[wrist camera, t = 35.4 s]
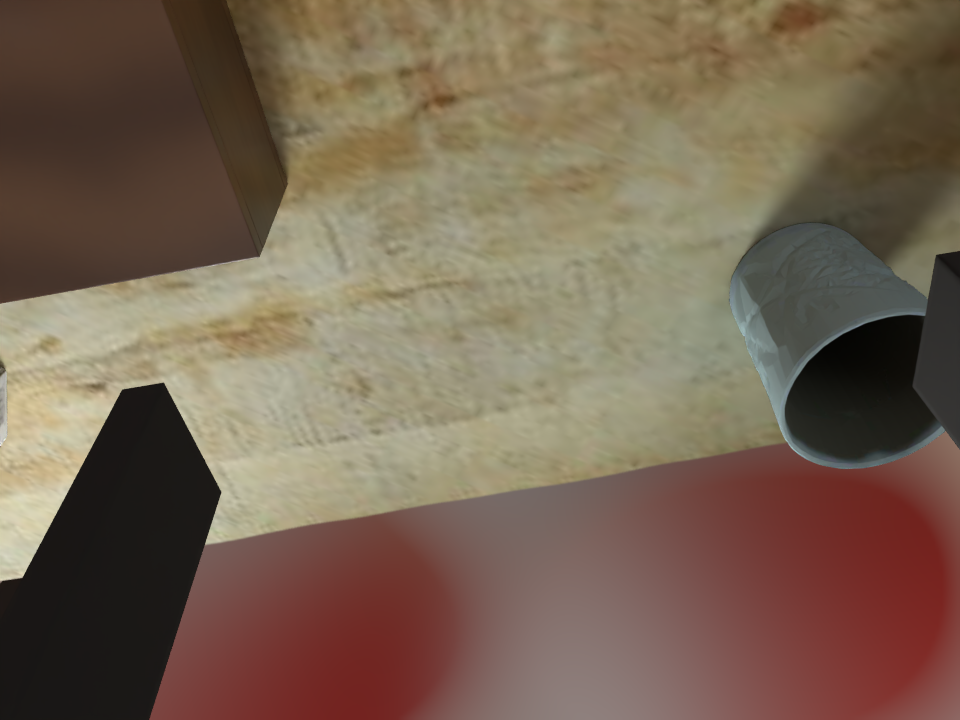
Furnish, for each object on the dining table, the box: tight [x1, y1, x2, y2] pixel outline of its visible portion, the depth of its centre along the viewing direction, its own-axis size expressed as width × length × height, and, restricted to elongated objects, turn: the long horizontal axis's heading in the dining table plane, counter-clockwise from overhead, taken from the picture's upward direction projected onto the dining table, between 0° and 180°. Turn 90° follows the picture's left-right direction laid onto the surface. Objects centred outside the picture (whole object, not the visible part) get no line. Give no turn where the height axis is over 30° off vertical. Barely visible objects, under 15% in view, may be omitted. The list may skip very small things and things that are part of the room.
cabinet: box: [0, 0, 288, 304], centre depth 38 cm, size 17×15×9 cm
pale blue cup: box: [729, 223, 946, 469], centre depth 46 cm, size 10×10×12 cm
